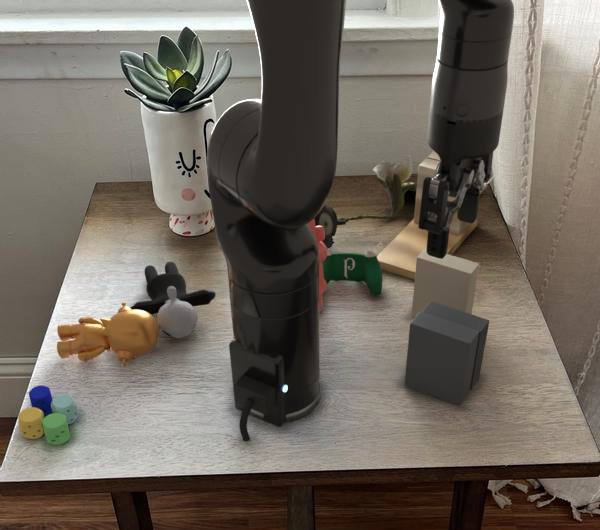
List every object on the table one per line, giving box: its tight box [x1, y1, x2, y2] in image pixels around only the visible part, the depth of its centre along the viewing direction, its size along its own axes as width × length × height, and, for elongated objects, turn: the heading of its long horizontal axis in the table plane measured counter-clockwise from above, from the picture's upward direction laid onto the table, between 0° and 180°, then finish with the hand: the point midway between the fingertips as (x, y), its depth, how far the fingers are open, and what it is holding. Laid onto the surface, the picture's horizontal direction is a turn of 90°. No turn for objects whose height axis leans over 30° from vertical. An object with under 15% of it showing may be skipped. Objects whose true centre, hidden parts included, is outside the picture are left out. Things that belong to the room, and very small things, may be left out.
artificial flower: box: [314, 154, 417, 249], centre depth 120 cm, size 9×22×10 cm, turn 127°
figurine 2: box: [129, 261, 216, 339], centre depth 104 cm, size 11×6×15 cm
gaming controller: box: [322, 249, 383, 297], centre depth 109 cm, size 9×4×6 cm
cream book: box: [410, 248, 480, 319], centre depth 101 cm, size 2×7×9 cm, turn 58°
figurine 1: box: [56, 301, 160, 368], centre depth 98 cm, size 8×6×12 cm
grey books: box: [404, 301, 490, 407], centre depth 92 cm, size 6×7×9 cm
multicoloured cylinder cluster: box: [17, 384, 80, 446], centre depth 90 cm, size 8×3×6 cm
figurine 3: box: [307, 219, 328, 313], centre depth 101 cm, size 5×5×15 cm
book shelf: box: [376, 150, 481, 281], centre depth 113 cm, size 17×8×10 cm, turn 148°
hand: (451, 237), depth 96 cm, fingers open, 8 cm apart
